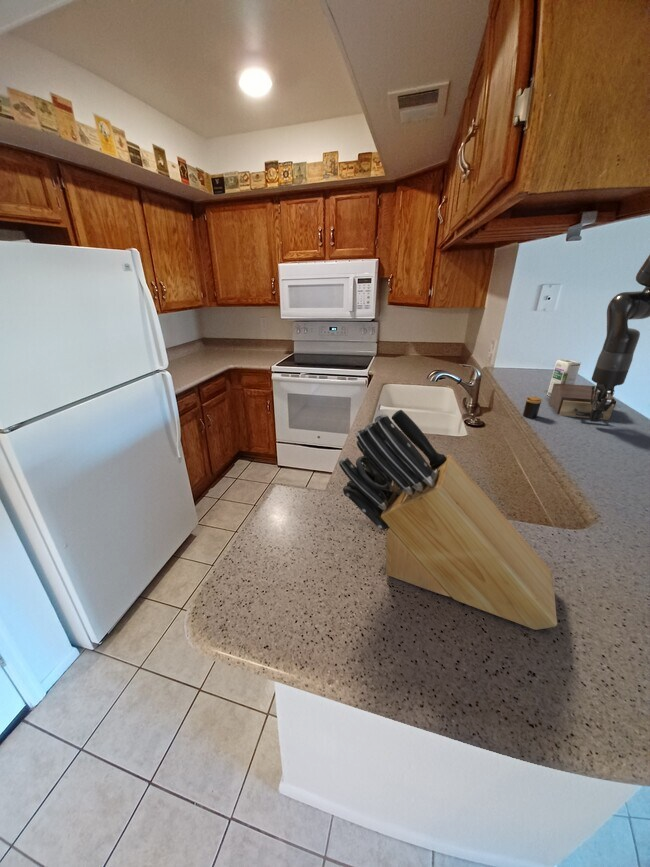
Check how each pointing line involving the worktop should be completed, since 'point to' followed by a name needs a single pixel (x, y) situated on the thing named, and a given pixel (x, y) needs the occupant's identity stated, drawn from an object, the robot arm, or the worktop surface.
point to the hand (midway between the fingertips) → (593, 420)
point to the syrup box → (564, 373)
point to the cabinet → (570, 394)
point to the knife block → (445, 526)
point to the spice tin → (532, 407)
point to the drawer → (582, 409)
